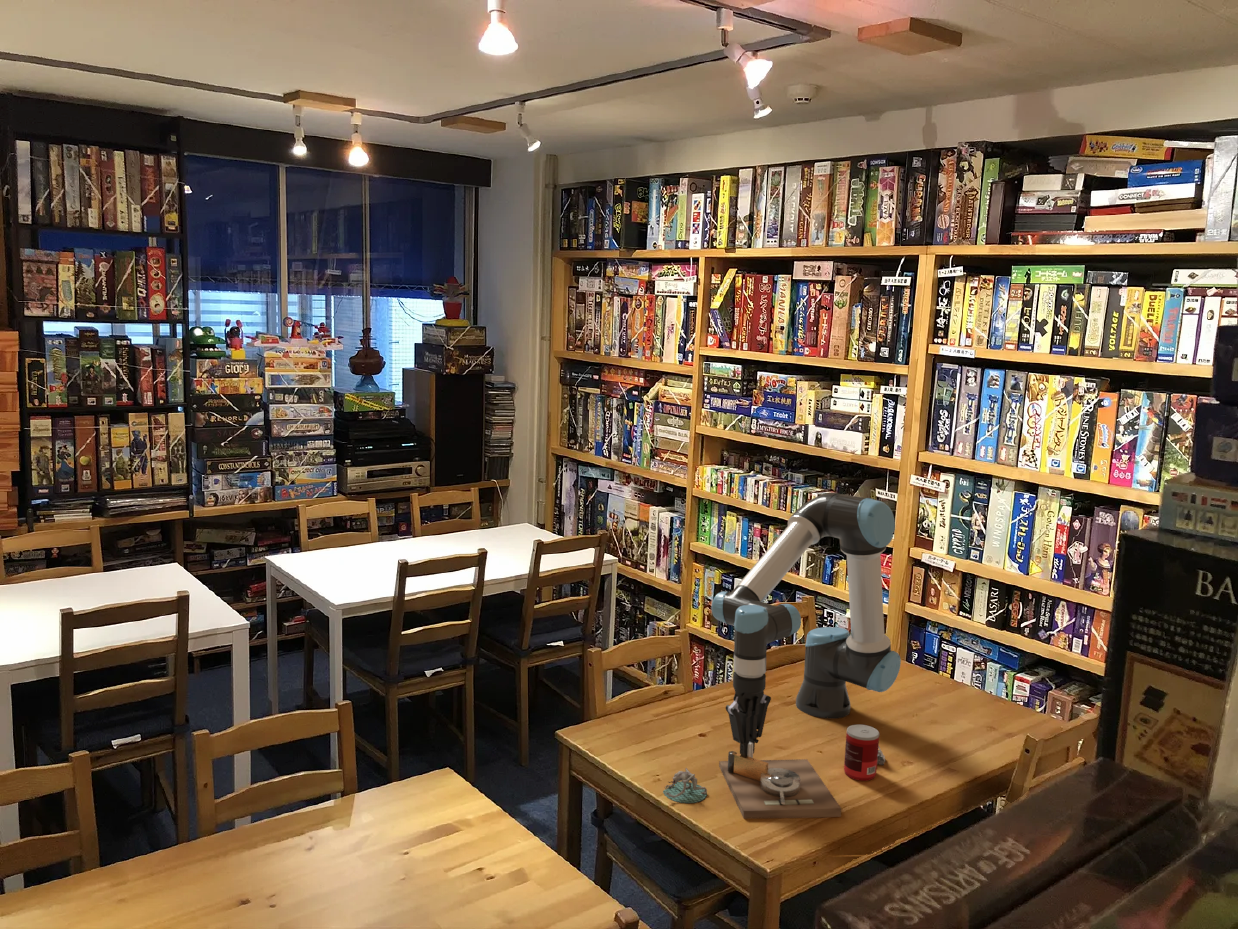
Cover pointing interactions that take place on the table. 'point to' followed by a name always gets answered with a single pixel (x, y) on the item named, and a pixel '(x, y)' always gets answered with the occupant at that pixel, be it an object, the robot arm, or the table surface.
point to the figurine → (685, 789)
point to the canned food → (861, 752)
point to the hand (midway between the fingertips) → (746, 767)
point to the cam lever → (765, 775)
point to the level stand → (802, 805)
